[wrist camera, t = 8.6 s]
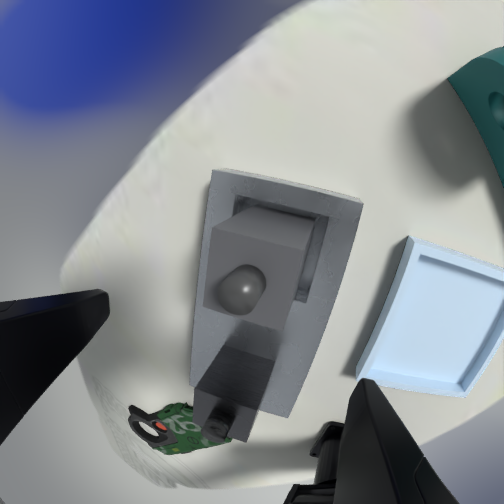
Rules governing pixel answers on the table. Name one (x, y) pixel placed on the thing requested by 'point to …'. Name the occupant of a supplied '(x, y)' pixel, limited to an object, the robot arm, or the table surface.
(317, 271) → the grey socket base
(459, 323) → the tray
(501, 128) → the bracket
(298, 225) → the plug
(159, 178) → the table surface
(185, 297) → the table surface
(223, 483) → the table surface
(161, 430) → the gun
